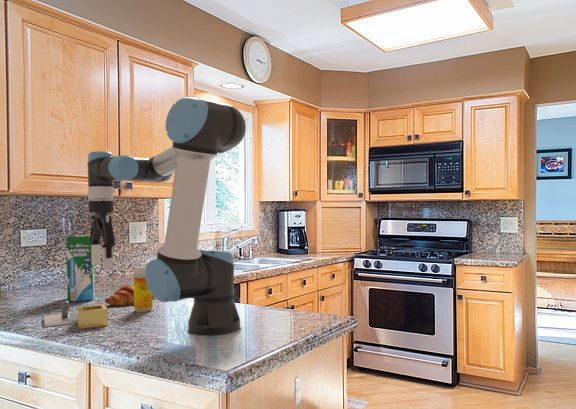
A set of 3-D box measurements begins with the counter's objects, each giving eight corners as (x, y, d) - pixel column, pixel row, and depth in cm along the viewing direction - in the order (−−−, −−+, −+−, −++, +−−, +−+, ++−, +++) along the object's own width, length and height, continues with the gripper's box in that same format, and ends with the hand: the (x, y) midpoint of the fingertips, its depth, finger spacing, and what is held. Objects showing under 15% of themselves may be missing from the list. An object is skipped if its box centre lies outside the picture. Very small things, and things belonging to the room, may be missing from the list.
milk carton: (94, 296, 193) (93, 234, 193) (93, 300, 185) (92, 235, 185) (70, 297, 191) (69, 235, 191) (67, 302, 182) (66, 236, 182)
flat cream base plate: (87, 321, 150) (87, 302, 150) (44, 326, 145) (44, 307, 145) (84, 314, 161) (83, 296, 161) (44, 318, 155) (43, 300, 155)
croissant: (151, 305, 190) (146, 287, 193) (165, 296, 185) (159, 277, 187) (101, 314, 174) (96, 294, 176) (115, 304, 168) (109, 283, 171)
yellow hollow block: (107, 325, 146) (107, 308, 146) (79, 328, 142) (79, 312, 142) (104, 319, 153) (104, 304, 153) (77, 323, 149) (76, 307, 149)
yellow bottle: (147, 312, 162) (146, 268, 162) (130, 312, 164) (130, 268, 164) (155, 308, 168) (155, 266, 168) (139, 308, 170) (139, 265, 170)
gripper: (125, 199, 146) (126, 269, 146) (102, 200, 166) (103, 261, 166) (99, 199, 141) (100, 271, 141) (79, 200, 161) (80, 263, 161)
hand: (101, 266), depth 154 cm, fingers open, 13 cm apart
